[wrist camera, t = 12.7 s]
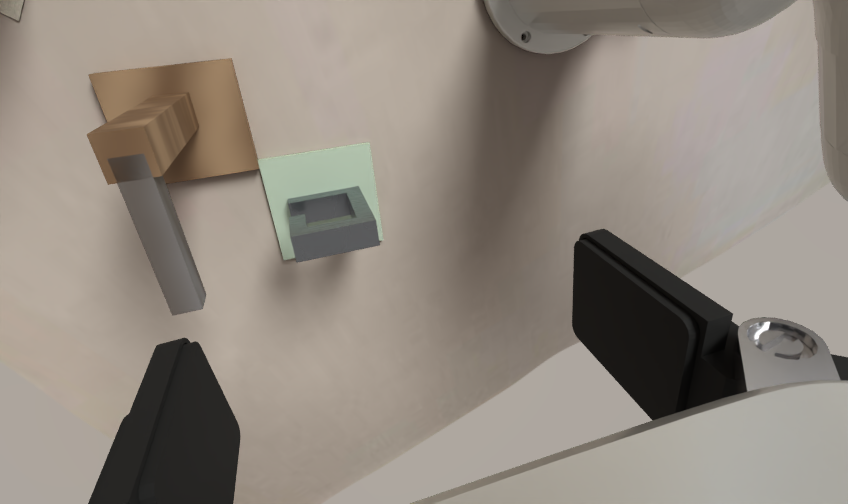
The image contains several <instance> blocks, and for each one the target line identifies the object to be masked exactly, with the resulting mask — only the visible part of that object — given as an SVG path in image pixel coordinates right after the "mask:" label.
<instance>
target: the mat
mask: <svg viewBox="0 0 848 504" xmlns="http://www.w3.org/2000/svg"><path fill="white" fill-rule="evenodd" d="M258 164H259V167H260V171H261V175H262V179H263V183H264V187H265V190H266V194H267V198H268V202H269V206H270V210H271V213H272V217H273V221H274V225H275V229H276V233H277V236H278V240H279V244H280V248H281V252H282V255H283V259H284V260H288V259H292V258H295V254H294V250H293V246H292V243H291V239H290V228H289V217H291V214H290V210H289V206H288V199H289V198H295V197H300V196H306V195H312V194H317V193H323V192H328V191H334V190H339V189H345V188H350V187H356V186H359V188H360V190H361V192H362V194H363V196H364V198H365V200H366V201H367V203H368V205H369V207H370V209H371V211H372V213H373V215H374V217H375V219H376V223H377V229H378V236H379V241H381V240H383V234H382V227H381V220H380V213H379V206H378V199H377V192H376V185H375V178H374V171H373V164H372V157H371V150H370V143H369V142H368V143H361V144H355V145H348V146H342V147H335V148H329V149H323V150H316V151H310V152H303V153H297V154H291V155H284V156H278V157H271V158H265V159H259V160H258ZM351 218H352V217H351V215H348V216H343V217H338V218H332V219H327V220H322V221H317V222H312V223H307V225H308V227H310V226H315V225H320V224H325V223H330V222H335V221H340V220H345V219H351Z"/></svg>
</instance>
